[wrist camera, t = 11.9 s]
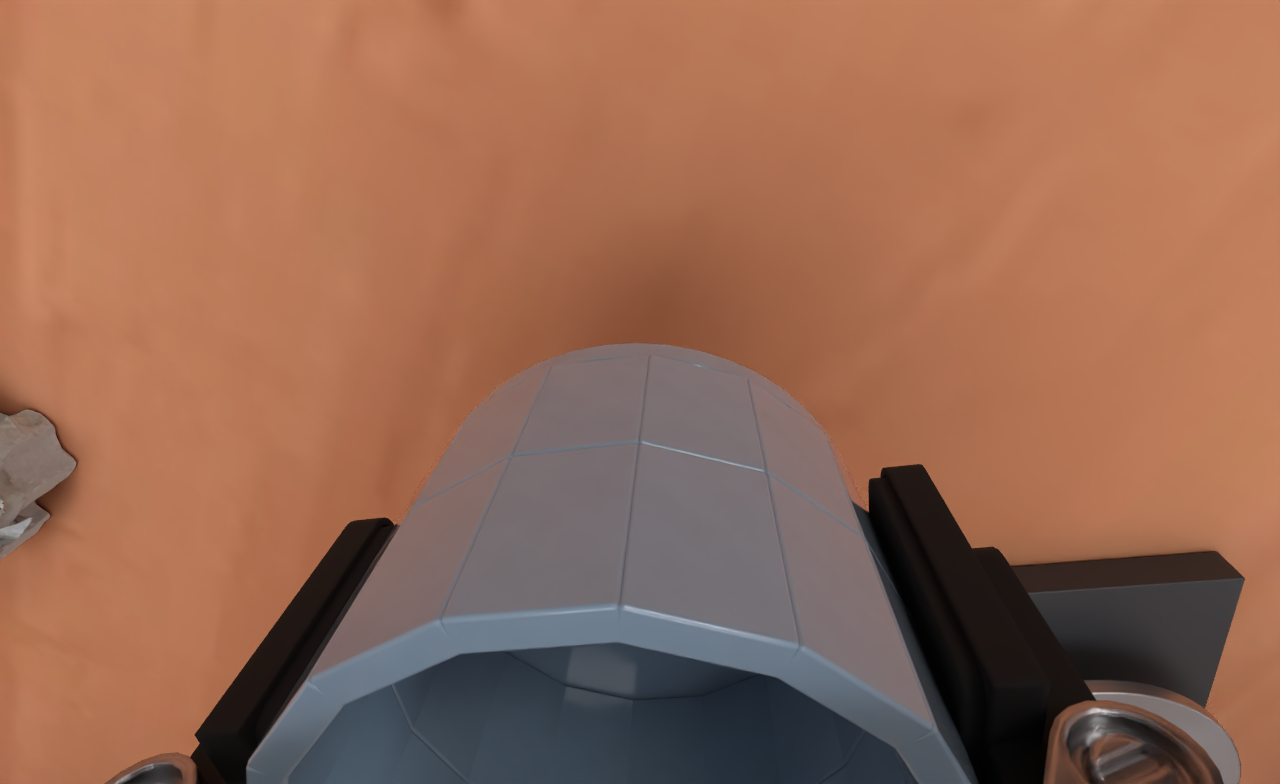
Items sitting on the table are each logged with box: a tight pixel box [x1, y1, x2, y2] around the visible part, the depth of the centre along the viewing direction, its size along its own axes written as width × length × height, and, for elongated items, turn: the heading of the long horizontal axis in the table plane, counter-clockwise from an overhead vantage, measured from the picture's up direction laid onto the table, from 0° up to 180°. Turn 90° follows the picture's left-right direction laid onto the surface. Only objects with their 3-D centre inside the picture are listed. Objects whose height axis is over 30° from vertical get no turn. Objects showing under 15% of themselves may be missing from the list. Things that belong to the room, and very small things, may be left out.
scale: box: [1011, 552, 1245, 709], centre depth 27 cm, size 16×14×3 cm
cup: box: [246, 343, 979, 784], centre depth 9 cm, size 7×7×6 cm
